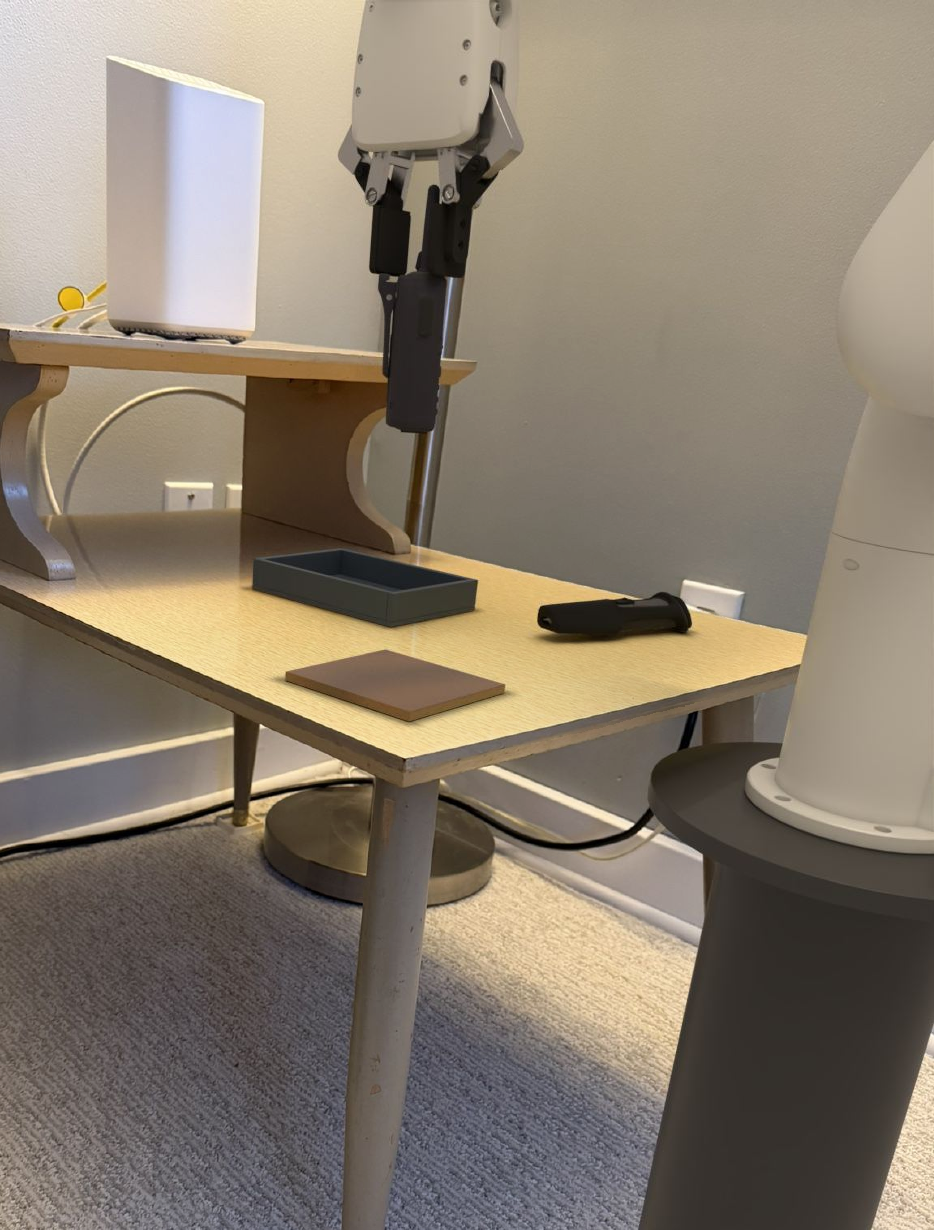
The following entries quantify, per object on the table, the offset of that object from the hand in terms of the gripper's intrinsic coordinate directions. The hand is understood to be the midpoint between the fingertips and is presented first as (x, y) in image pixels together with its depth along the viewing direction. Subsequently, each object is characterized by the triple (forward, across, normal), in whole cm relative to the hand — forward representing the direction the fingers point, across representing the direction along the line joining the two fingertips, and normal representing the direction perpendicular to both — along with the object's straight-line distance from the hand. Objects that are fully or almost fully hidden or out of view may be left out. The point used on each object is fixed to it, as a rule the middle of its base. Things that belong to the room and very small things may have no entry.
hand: (416, 272), depth 76 cm
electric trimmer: (+25, -8, -19) cm, 33 cm away
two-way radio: (+10, 0, 0) cm, 10 cm away
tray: (+25, +11, -10) cm, 29 cm away
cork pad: (+25, -8, +8) cm, 27 cm away
